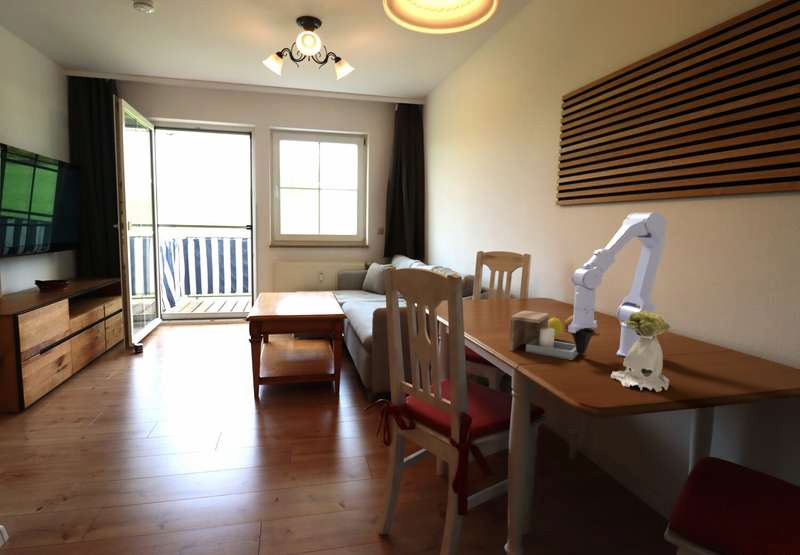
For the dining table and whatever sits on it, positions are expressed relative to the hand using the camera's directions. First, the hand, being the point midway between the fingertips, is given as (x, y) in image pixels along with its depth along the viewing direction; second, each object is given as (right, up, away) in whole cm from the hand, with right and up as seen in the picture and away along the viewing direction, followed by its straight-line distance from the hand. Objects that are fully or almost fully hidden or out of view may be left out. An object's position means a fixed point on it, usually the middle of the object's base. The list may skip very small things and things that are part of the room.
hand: (580, 352), depth 136 cm
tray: (-7, -1, +5) cm, 8 cm away
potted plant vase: (+6, -4, -21) cm, 23 cm away
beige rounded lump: (-9, 0, +6) cm, 11 cm away
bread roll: (+13, +2, +36) cm, 38 cm away
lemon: (-1, +1, +22) cm, 22 cm away
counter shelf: (-13, 0, +9) cm, 16 cm away
